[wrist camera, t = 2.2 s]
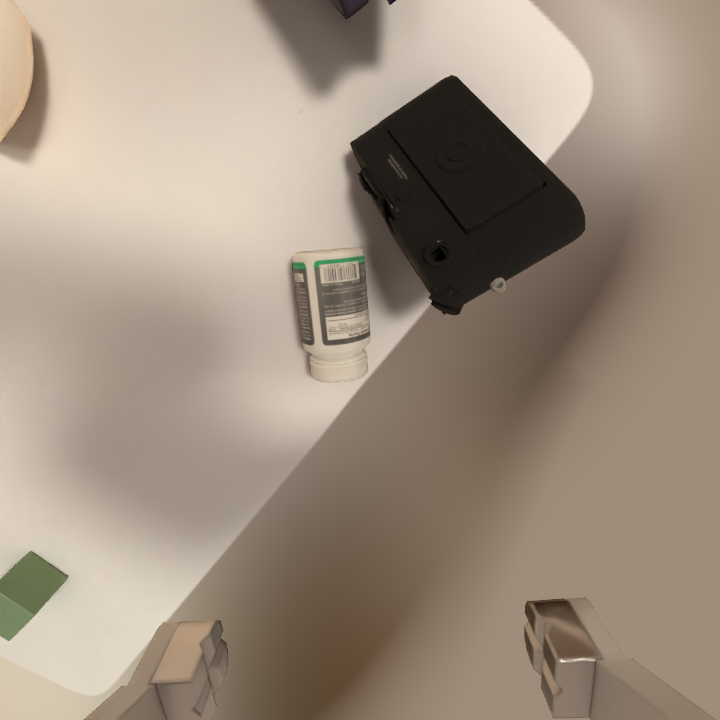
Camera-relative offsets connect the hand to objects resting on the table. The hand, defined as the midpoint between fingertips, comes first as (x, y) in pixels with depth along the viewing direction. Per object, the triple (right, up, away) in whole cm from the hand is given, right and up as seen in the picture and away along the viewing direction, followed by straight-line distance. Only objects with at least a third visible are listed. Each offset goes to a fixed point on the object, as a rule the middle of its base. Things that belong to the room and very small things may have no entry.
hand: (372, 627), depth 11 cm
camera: (+9, +18, +13) cm, 24 cm away
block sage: (-30, -13, +26) cm, 41 cm away
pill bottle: (-2, +14, +15) cm, 21 cm away
